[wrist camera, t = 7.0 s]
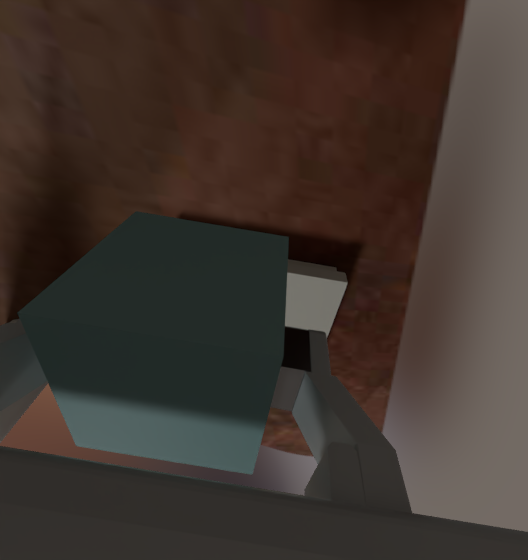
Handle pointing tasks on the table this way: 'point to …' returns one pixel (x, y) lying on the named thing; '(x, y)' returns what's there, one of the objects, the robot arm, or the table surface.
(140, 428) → the teal block
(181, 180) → the table surface
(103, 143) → the table surface
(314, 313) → the cream wooden base
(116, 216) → the table surface
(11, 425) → the bottle
